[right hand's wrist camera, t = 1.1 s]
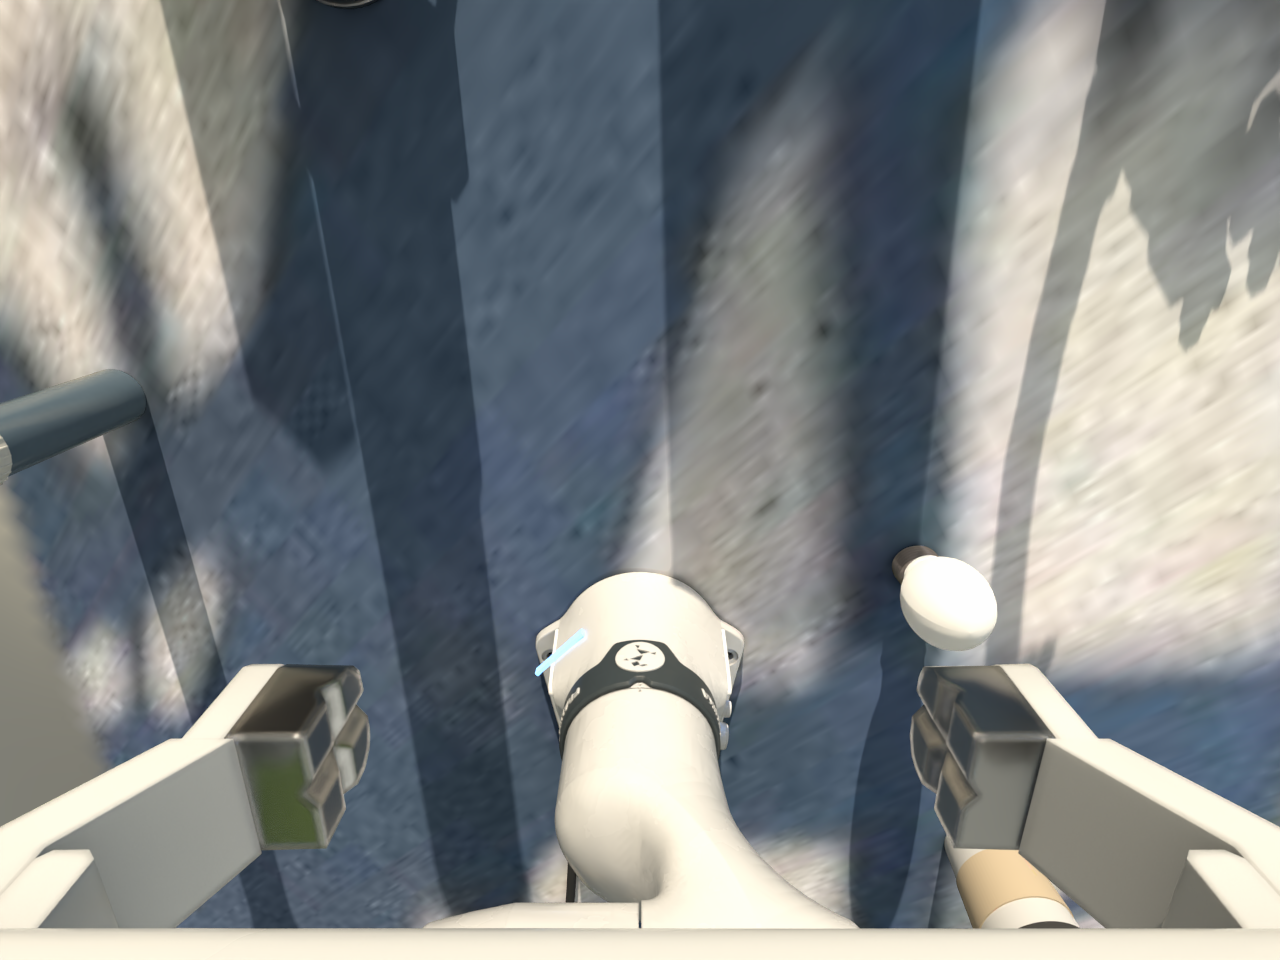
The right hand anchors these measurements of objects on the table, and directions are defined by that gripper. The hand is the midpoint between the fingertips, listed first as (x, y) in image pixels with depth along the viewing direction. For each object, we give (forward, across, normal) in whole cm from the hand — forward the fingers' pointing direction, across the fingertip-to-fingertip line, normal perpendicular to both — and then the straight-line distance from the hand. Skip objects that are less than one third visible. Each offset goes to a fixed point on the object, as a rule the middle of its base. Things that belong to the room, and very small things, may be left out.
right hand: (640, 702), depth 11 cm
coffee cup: (+48, +35, -55) cm, 81 cm away
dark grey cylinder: (+48, -42, -8) cm, 64 cm away
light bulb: (+48, +24, -23) cm, 58 cm away
